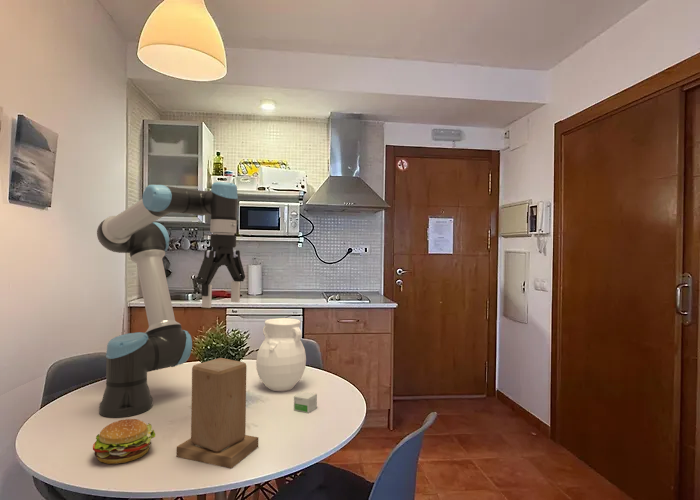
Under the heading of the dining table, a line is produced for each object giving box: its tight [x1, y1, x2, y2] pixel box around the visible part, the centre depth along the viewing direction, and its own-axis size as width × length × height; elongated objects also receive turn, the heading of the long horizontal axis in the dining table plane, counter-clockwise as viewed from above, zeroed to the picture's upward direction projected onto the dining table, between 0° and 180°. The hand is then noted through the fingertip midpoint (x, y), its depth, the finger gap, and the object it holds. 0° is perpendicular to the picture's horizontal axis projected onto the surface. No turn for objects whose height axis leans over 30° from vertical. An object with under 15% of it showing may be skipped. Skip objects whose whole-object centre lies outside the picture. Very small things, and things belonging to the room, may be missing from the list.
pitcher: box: [255, 317, 307, 392], centre depth 164 cm, size 19×18×25 cm
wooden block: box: [190, 357, 247, 451], centre depth 111 cm, size 10×10×20 cm
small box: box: [293, 390, 318, 414], centre depth 142 cm, size 6×6×5 cm
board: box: [175, 434, 259, 469], centre depth 111 cm, size 16×12×3 cm
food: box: [92, 418, 156, 465], centre depth 110 cm, size 14×14×8 cm
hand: (221, 304), depth 131 cm, fingers open, 13 cm apart
